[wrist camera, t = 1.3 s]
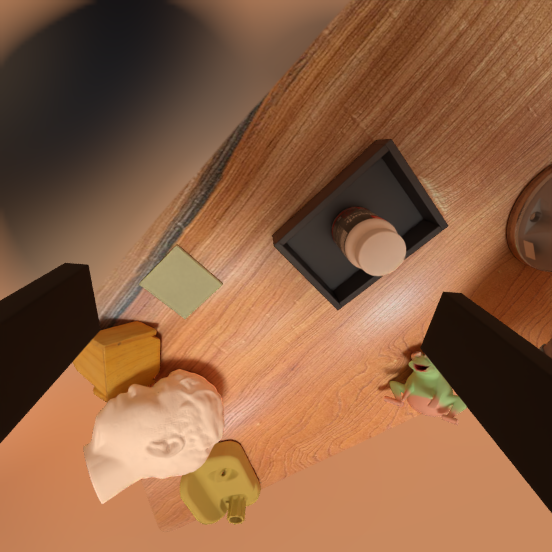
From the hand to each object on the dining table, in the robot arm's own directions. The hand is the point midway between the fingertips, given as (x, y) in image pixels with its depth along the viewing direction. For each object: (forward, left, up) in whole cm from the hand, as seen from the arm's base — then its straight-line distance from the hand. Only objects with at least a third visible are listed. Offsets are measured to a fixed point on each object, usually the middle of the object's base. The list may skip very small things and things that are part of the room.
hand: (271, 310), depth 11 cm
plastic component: (+39, +37, -22) cm, 58 cm away
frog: (+4, +39, -19) cm, 44 cm away
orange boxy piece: (+30, +3, -22) cm, 37 cm away
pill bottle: (-6, +10, -26) cm, 28 cm away
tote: (-6, +10, -26) cm, 29 cm away
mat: (+16, 0, -26) cm, 31 cm away
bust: (+36, +18, -16) cm, 43 cm away
